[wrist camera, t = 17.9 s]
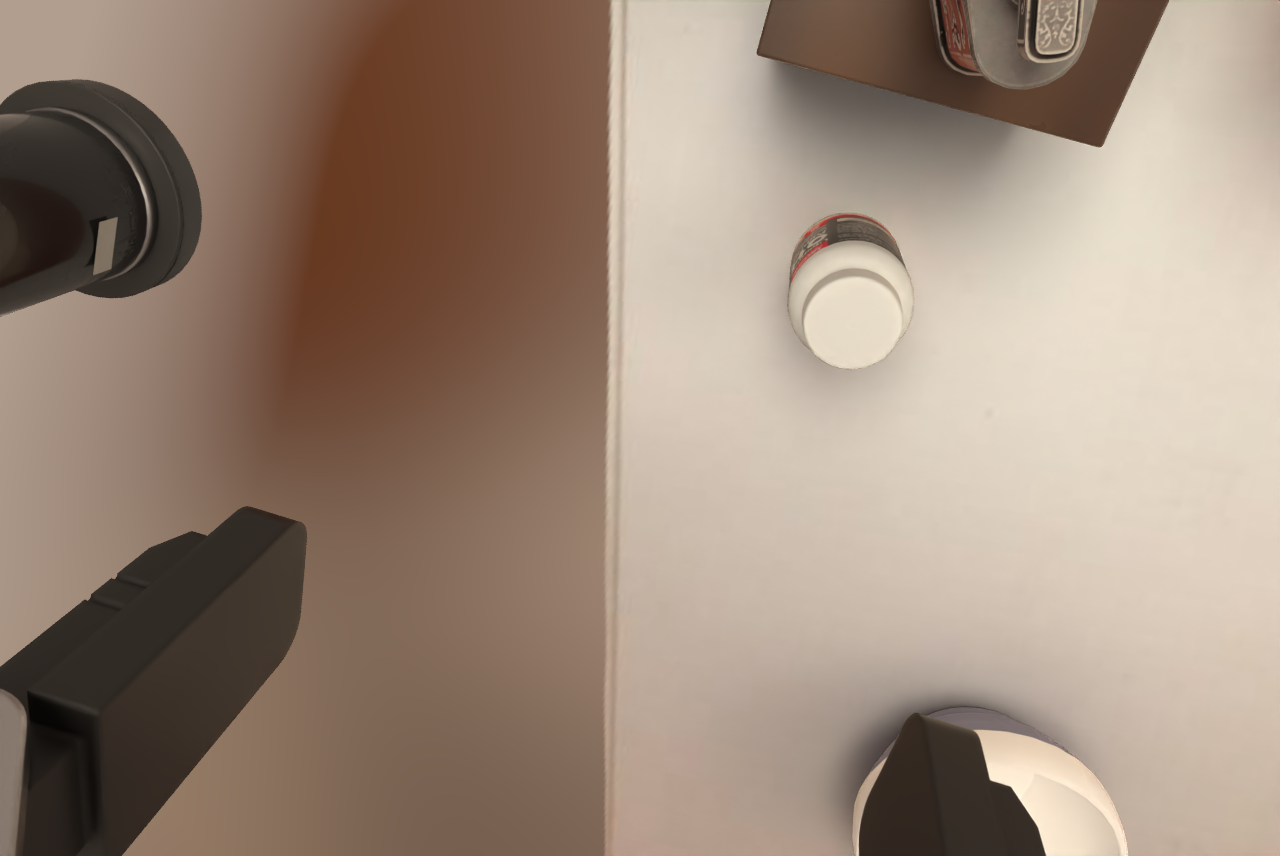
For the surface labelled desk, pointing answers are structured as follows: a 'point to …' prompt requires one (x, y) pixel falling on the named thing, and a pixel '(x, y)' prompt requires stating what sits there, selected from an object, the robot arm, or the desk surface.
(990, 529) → the desk surface
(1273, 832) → the desk surface
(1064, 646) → the desk surface
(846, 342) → the pill bottle
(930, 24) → the block
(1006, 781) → the bowl
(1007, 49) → the lighter
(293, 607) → the robot arm
